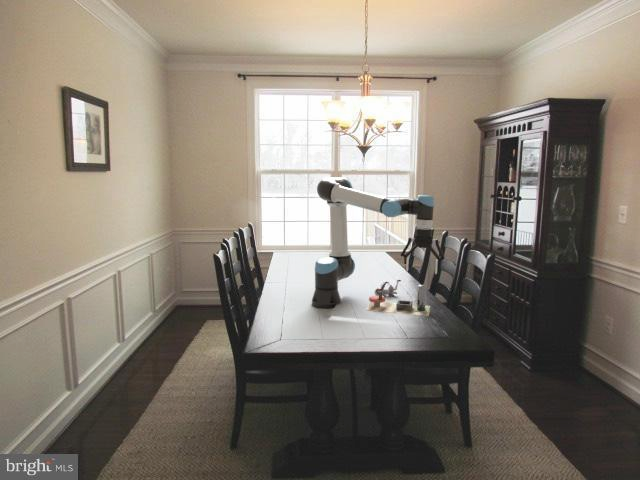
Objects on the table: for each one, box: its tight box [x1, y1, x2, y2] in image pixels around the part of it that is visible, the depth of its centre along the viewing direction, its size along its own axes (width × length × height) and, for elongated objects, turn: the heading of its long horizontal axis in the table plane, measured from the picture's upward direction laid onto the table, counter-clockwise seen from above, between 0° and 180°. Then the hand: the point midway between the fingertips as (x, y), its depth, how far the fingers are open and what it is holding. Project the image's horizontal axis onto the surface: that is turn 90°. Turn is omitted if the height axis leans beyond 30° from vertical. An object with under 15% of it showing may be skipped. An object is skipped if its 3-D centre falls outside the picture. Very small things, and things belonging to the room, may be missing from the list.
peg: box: [416, 284, 427, 311], centre depth 219 cm, size 4×4×12 cm
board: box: [365, 299, 431, 317], centre depth 223 cm, size 30×16×4 cm, turn 73°
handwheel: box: [368, 291, 386, 307], centre depth 225 cm, size 8×8×8 cm
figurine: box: [374, 279, 402, 297], centre depth 244 cm, size 12×9×15 cm
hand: (421, 272), depth 217 cm, fingers open, 13 cm apart
